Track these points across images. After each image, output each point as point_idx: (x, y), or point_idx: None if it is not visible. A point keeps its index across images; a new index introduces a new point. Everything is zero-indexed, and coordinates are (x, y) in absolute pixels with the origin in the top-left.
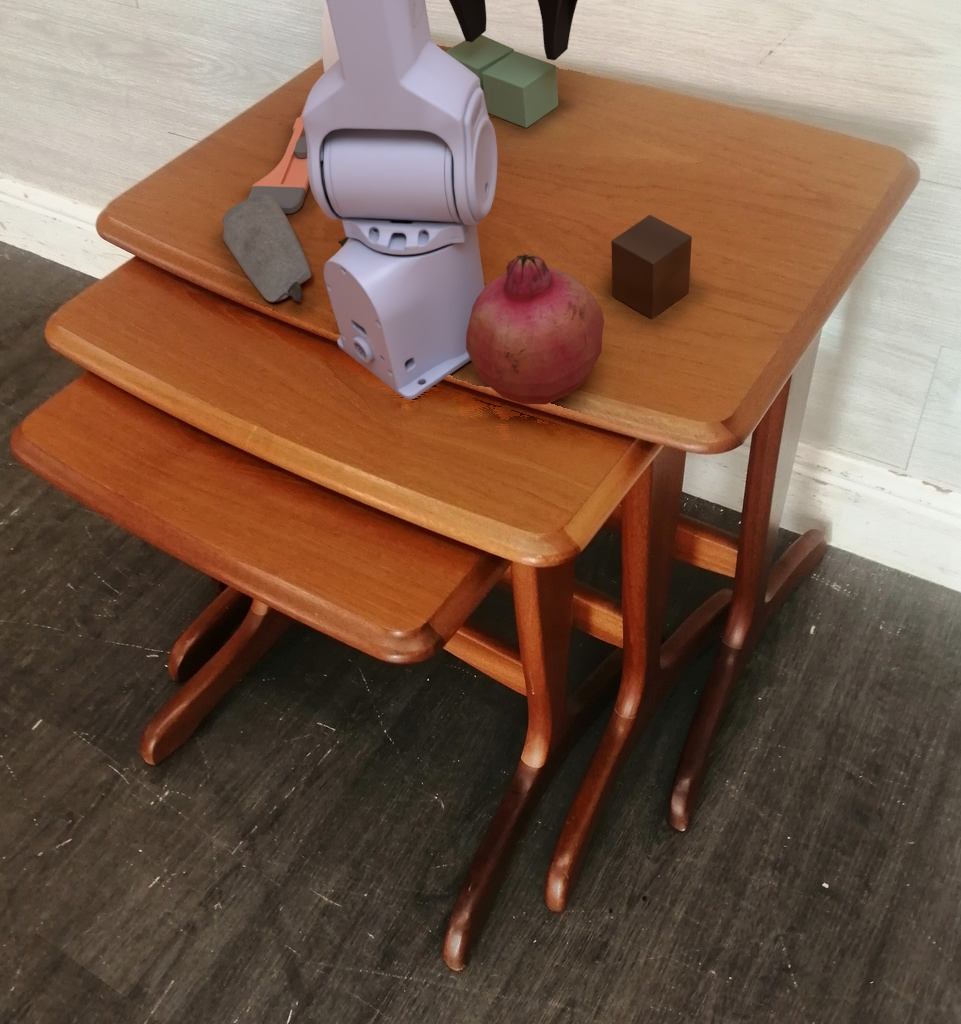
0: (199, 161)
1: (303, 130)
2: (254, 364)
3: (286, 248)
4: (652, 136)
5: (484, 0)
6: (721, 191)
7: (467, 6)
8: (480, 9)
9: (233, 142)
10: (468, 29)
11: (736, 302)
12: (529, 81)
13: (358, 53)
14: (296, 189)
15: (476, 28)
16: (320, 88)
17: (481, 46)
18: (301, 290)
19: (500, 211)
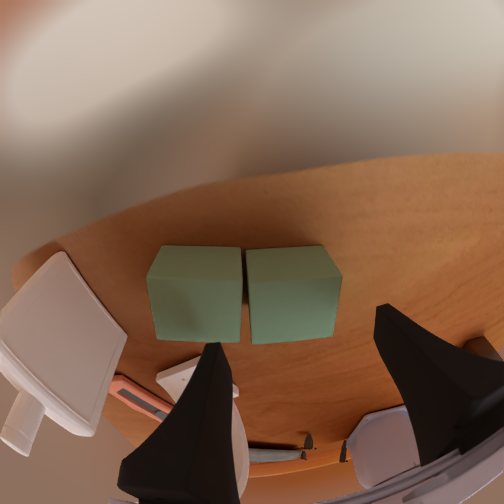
0: (124, 429)
1: (143, 407)
2: (313, 460)
3: (277, 458)
4: (441, 229)
5: (211, 375)
6: (494, 259)
7: (226, 414)
8: (219, 379)
9: (114, 415)
10: (232, 391)
11: (500, 323)
12: (332, 324)
13: None
14: None
15: (226, 371)
16: None
17: (188, 302)
18: (304, 454)
19: (366, 374)
